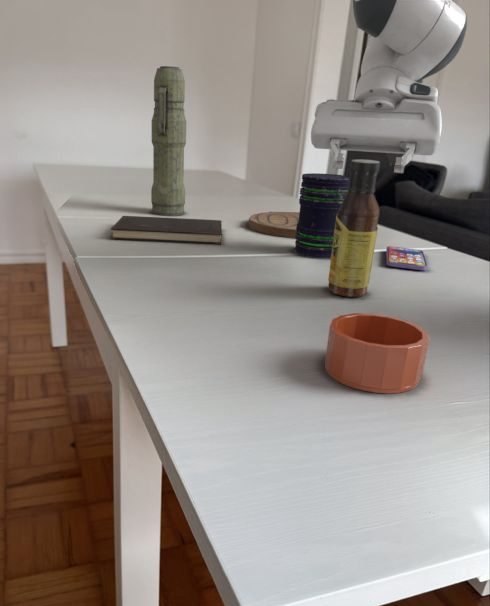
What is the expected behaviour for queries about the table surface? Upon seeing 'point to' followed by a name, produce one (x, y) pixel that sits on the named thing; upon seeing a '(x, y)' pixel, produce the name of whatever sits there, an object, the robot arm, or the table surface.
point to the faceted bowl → (376, 352)
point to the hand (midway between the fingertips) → (367, 168)
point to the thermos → (168, 142)
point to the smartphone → (405, 258)
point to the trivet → (275, 223)
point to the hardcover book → (168, 230)
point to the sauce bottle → (355, 232)
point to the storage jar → (319, 213)
